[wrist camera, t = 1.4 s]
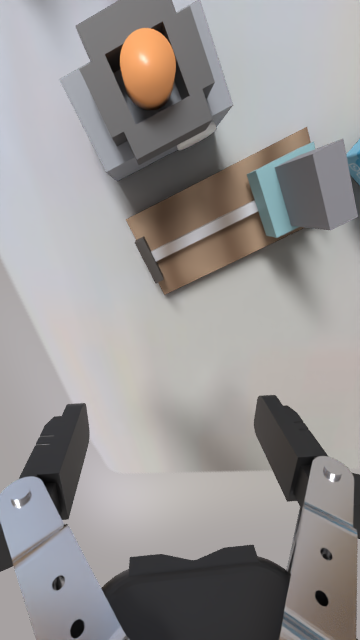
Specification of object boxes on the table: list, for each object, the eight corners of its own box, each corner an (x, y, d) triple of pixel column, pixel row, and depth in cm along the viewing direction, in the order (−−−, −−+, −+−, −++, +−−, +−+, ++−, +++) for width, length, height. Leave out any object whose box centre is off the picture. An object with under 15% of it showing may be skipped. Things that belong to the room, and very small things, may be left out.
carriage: (298, 148, 29) (365, 119, 20) (314, 212, 32) (380, 213, 23) (246, 174, 30) (288, 158, 21) (266, 235, 32) (311, 245, 23)
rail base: (300, 130, 31) (322, 118, 27) (320, 216, 35) (343, 217, 31) (127, 219, 33) (123, 220, 29) (164, 291, 37) (165, 302, 32)
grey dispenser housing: (184, 47, 27) (202, -49, 17) (216, 137, 31) (247, 100, 20) (79, 105, 28) (38, 47, 18) (120, 187, 32) (104, 176, 21)
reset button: (159, 38, 19) (160, 16, 17) (181, 96, 21) (184, 82, 18) (114, 64, 20) (109, 45, 17) (138, 119, 21) (136, 108, 19)
